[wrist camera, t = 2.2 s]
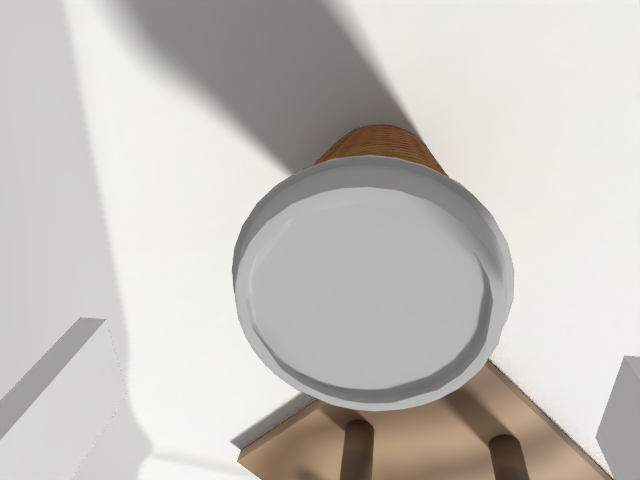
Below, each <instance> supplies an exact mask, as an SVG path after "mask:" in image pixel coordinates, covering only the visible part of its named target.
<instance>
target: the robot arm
mask: <svg viewBox="0 0 640 480" xmlns="http://www.w3.org/2000/svg"><path fill="white" fill-rule="evenodd" d="M126 395H127V392H126V388H125V384H124V381H123V377H122V374H121V370H120V366H119V363H118V360H117V356H116V352H115V349H114V345H113V342H112V338H111V335H110V331H109V327H108V324H107V320H106V319H95V318H79V319H78V320H77V321H76V322H75V323H74V325H73V326H72V327H71V328H70V329H69V330H68V331H67V332H66V333H65V334H64V335H63V336H62V337H61V338H60V339H59V340H58V341H57V342H56V343H55V344H54V345H53V346H52V348H50V349H49V351H48V352H47V353H46V354H45V355H44V356H43V357H42V358H41V359H40V360H39V361H38V362H37V363H36V364H35V365H34V366H33V367H32V368H31V369H30V370H29V371H28V372H27V373H26V374H25V376H24V377H23V378H22V379H21V380H20V381H19V382H18V383H17V384H16V385H15V386H14V387H13V388H12V389H11V390H10V391H9V392H8V393H7V394H6V395H5V396H4V397H3V398H2V399H1V400H0V480H71V479H72V477H73V476H74V474H75V473H76V471H77V470H78V468H79V467H80V465H81V464H82V462H83V460H84V459H85V457H86V456H87V454H88V453H89V451H90V450H91V448H92V447H93V445H94V444H95V442H96V441H97V439H98V438H99V436H100V435H101V433H102V432H103V430H104V429H105V427H106V426H107V424H108V423H109V421H110V420H111V418H112V417H113V415H114V413H115V412H116V411H117V409H118V407H119V406H120V404H121V403H122V401H123V400H124V398H125V397H126ZM596 439H597V441H598V444H599V446H600V448H601V450H602V452H603V455H604V457H605V459H606V461H607V463H608V466H609V468H610V470H611V472H612V474H613V476H614V479H615V480H640V357H634V356H624V358H623V361H622V364H621V367H620V370H619V372H618V375H617V378H616V381H615V384H614V386H613V389H612V392H611V395H610V398H609V400H608V403H607V406H606V409H605V412H604V415H603V417H602V420H601V423H600V426H599V429H598V431H597V434H596Z"/></svg>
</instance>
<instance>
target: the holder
mask: <svg viewBox="0 0 640 480" xmlns="http://www.w3.org/2000/svg"><path fill="white" fill-rule="evenodd" d="M237 462H238V463H240V464H241V465H243V466H244V467H245V468H247V469H248V470H249V471H251V472H252V473H253V474H255V475H256V476H257V477H259V478H260V479H261V480H613V479H612V478H611V477H610V476H609V475H608V474H607V473H606V472H604V471H603V470H602V469H601V468H600V467H599V466H598V465H597V464H596V463H595V462H594V461H593V460H592V459H591V458H590V457H589V456H588V455H587V454H586V453H585V452H584V451H583V450H582V449H581V448H579V447H578V446H577V445H576V444H575V443H574V442H573V441H572V440H571V439H570V438H569V437H568V436H567V435H566V434H565V433H564V432H563V431H562V430H561V429H560V428H559V427H558V426H557V425H556V424H554V423H553V422H552V421H551V420H550V419H549V418H548V417H547V416H546V415H545V414H544V413H543V412H542V411H541V410H540V409H539V408H538V407H537V406H536V405H535V404H534V403H533V402H532V401H531V400H530V399H528V398H527V397H526V396H525V395H524V394H523V393H522V392H521V391H520V390H519V389H518V388H517V387H516V386H515V385H514V384H513V383H512V382H511V381H510V380H509V379H508V378H507V377H506V376H505V375H503V374H502V373H501V372H500V371H499V370H498V369H497V368H496V367H495V366H494V365H493V364H492V363H491V362H490V361H489V360H487V361H486V363H485V364H484V366H483V367H482V369H481V370H480V371H479V372H478V373H476V374H475V375H474V376H473V377H472V378H471V379H469V380H468V381H467V382H466V383H465V384H463V385H462V386H461V387H460V388H459V389H457V390H455V391H453V392H451V393H449V394H447V395H445V396H443V397H442V398H440V399H437V400H435V401H432V402H429V403H426V404H424V405H420V406H416V407H411V408H406V409H400V410H387V411H365V410H355V409H349V408H344V407H340V406H335V405H331V404H329V403H327V402H324V401H322V400H320V399H318V400H316V401H315V402H313V403H312V404H310V405H309V406H307V407H306V408H304V409H303V410H301V411H300V412H298V413H297V414H295V415H294V416H292V417H291V418H289V419H288V420H286V421H285V422H283V423H282V424H280V425H279V426H277V427H276V428H274V429H273V430H271V431H270V432H268V433H267V434H265V435H264V436H262V437H260V438H259V439H257V440H256V441H254V442H253V443H251V444H250V445H248V446H247V447H245V448H244V449H242V450H241V452H240V454H239V457H238V460H237Z"/></svg>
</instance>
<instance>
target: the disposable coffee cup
mask: <svg viewBox="0 0 640 480" xmlns="http://www.w3.org/2000/svg"><path fill="white" fill-rule="evenodd" d="M232 274H233V286H234V293H235V301H236V307H237V313H238V319H239V321H240V324H241V326H242V329H243V331H244V334H245V336H246V338H247V340H248V342H249V343H250V345H251V347H252V348H253V350H254V351H255V353H256V354H257V355H258V356H259V358H260V359H261V360H262V361H263V363H264V364H265V365H266V366H267V367H268V368H269V369H270V370H271V371H272V372H274V373H275V374H276V375H277V376H278V377H279V378H280V379H282V380H283V381H285V382H286V383H288V384H289V385H291V386H292V387H294V388H295V389H297V390H298V391H301V392H303V393H305V394H308V395H310V396H312V397H315V398H317V399H320V400H322V401H324V402H327V403H329V404H331V405H335V406H340V407H344V408H349V409H355V410H365V411H387V410H400V409H406V408H411V407H416V406H420V405H424V404H426V403H429V402H432V401H435V400H437V399H440V398H442V397H443V396H445V395H447V394H449V393H451V392H453V391H455V390H457V389H459V388H460V387H461V386H462V385H463V384H465V383H466V382H467V381H468V380H469V379H471V378H472V377H473V376H474V375H475V374H476V373H478V372H479V371H480V370H481V369H482V367H483V366H484V364H485V363H486V361H487V360H488V358H489V357H490V355H491V354H492V352H493V351H494V349H495V348H496V346H497V345H498V342H499V338H500V334H501V331H502V328H503V326H504V325H505V323H506V321H507V318H508V314H509V311H510V308H511V305H512V301H513V294H514V268H513V264H512V260H511V255H510V251H509V247H508V243H507V241H506V239H505V238H504V236H503V234H502V232H501V231H500V229H499V227H498V225H497V223H496V222H495V220H494V218H493V216H492V215H491V213H490V212H489V211H488V210H487V209H486V208H485V207H484V206H483V205H482V204H481V203H480V202H479V201H478V200H477V198H476V197H475V196H474V195H473V194H471V193H470V192H469V191H468V190H467V189H466V188H465V187H463V186H462V185H461V184H460V183H459V182H457V181H455V180H453V179H451V178H449V176H448V175H447V174H446V173H445V172H444V170H443V169H442V167H441V166H440V165H439V163H438V162H437V161H436V159H435V158H434V156H433V155H432V154H431V152H430V151H429V149H428V148H427V147H426V146H425V145H424V143H423V142H422V141H421V140H419V139H418V138H417V137H415V136H414V135H413V134H411V133H409V132H407V131H405V130H402V129H400V128H397V127H393V126H388V125H373V126H365V127H362V128H360V129H357V130H354V131H352V132H350V133H349V134H347V135H345V136H344V137H342V138H341V139H340V140H339V141H338V142H337V143H336V144H335V145H334V146H333V147H332V148H331V149H330V150H329V151H328V152H327V153H326V154H325V155H323V156H322V157H321V158H320V159H318V160H317V162H316V163H315V164H314V165H312V166H311V167H308V168H305V169H303V170H300V171H298V172H296V173H295V174H293V175H292V176H290V177H289V178H287V179H285V180H284V181H282V182H281V183H279V184H278V185H276V186H275V187H274V188H273V189H272V190H271V191H270V192H269V193H268V194H266V195H265V196H264V197H263V198H262V199H261V200H260V201H259V202H258V203H257V204H256V206H255V207H254V209H253V210H252V212H251V213H250V215H249V217H248V218H247V220H246V221H245V223H244V224H243V226H242V229H241V231H240V234H239V237H238V240H237V243H236V246H235V249H234V257H233V265H232Z"/></svg>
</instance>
